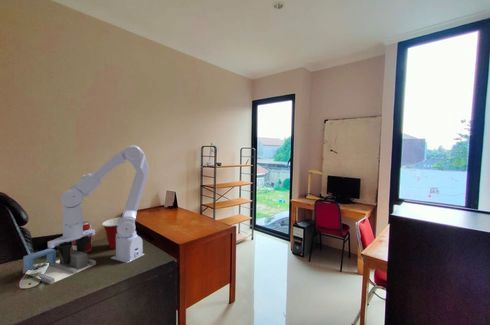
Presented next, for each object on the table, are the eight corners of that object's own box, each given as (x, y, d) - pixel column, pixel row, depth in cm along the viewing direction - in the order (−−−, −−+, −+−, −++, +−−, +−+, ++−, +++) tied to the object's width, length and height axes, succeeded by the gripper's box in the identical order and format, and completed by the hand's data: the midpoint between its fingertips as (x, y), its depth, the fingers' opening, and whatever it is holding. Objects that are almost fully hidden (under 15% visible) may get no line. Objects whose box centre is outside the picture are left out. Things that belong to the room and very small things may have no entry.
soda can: (81, 256, 91) (81, 226, 91) (67, 254, 92) (67, 225, 92) (95, 249, 98) (95, 221, 97) (82, 248, 99) (82, 220, 99)
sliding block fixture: (95, 265, 83) (95, 248, 83) (50, 285, 70) (50, 265, 70) (68, 257, 90) (68, 241, 89) (23, 274, 77) (22, 256, 77)
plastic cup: (99, 247, 100) (99, 220, 99) (126, 240, 107) (125, 215, 107) (106, 255, 92) (105, 225, 92) (134, 247, 100) (134, 220, 99)
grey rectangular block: (87, 265, 82) (87, 253, 82) (77, 270, 79) (76, 257, 79) (70, 260, 86) (70, 248, 86) (59, 264, 83) (59, 252, 83)
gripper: (86, 216, 90) (87, 251, 91) (42, 227, 77) (42, 267, 77) (98, 218, 87) (99, 254, 88) (54, 230, 74) (55, 271, 74)
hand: (73, 260), depth 82 cm, fingers open, 4 cm apart
